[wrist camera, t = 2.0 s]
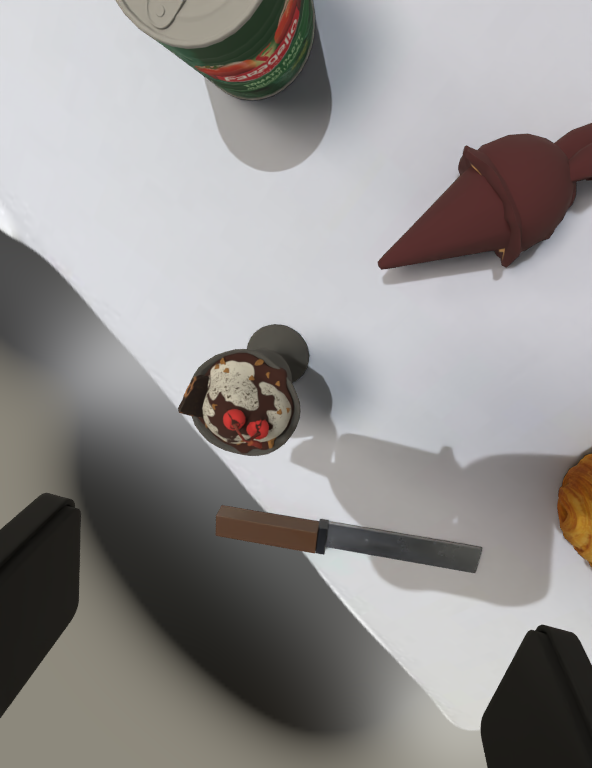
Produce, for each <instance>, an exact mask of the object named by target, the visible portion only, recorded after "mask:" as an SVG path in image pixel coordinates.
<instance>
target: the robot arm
mask: <svg viewBox="0 0 592 768" xmlns="http://www.w3.org/2000/svg"><path fill="white" fill-rule="evenodd" d="M80 522H81V513H80V510H79V509H77V508H75V503H74V501H73V500H71V499H68V498H64V497H60V496H57V495H53V494H49V493H44V494H42V495H40V496H39V497H38V498H37V499H35V500H34V501H33V502H32V503H31V504H30V505H28V506H27V507H26V508H25V509H24V510H23V511H21V512H20V513H19V514H18V515H17V516H16V517H14V518H13V519H12V520H11V521H10V522H9V523H7V524H6V525H5V526H4V527H3V528H2V529H1V530H0V718H1V716H2V715H3V714H4V712H5V711H6V710H7V708H8V707H9V706H10V704H11V703H12V701H13V700H14V699H15V697H16V696H17V695H18V693H19V692H20V690H21V689H22V688H23V686H24V685H25V684H26V682H27V681H28V679H29V678H30V677H31V675H32V674H33V673H34V671H35V670H36V668H37V667H38V666H39V664H40V663H41V661H42V660H43V659H44V657H45V656H46V655H47V653H48V652H49V651H50V649H51V648H52V646H53V645H54V644H55V642H56V641H57V640H58V638H59V637H60V635H61V634H62V632H63V631H64V630H65V629H66V627H67V626H68V624H69V623H70V621H71V620H72V618H73V617H74V615H75V613H76V610H77V607H78V602H79V567H80V524H81V523H80ZM481 738H482V743H483V748H484V753H485V757H486V762H487V767H488V768H592V665H591V663H590V661H589V659H588V657H587V655H586V653H585V651H584V648H583V646H582V644H581V642H580V640H579V639H578V637H577V636H576V635H575V634H574V633H572V632H568V631H565V630H561V629H557V628H553V627H550V626H546V625H540V626H538V627H537V629H536V630H535V631H534V630H530V631H528V632H527V634H526V635H525V637H524V639H523V641H522V643H521V645H520V647H519V649H518V650H517V652H516V654H515V656H514V658H513V660H512V662H511V664H510V665H509V667H508V669H507V671H506V673H505V675H504V677H503V679H502V680H501V682H500V684H499V686H498V688H497V690H496V692H495V694H494V695H493V697H492V699H491V701H490V703H489V705H488V707H487V709H486V710H485V712H484V714H483V717H482V720H481Z"/></svg>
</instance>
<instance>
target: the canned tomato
mask: <svg viewBox="0 0 592 768" xmlns="http://www.w3.org/2000/svg"><path fill="white" fill-rule="evenodd" d="M116 2H117V3H118V5H119V6H120V8H121V9H122V11H123V12H124V14H125V15H126V16H127V17H128V18H129V19H130V20H131V21H132V22H133V23H134V24H135V25H136V26H137V27H138V28H139V29H140V30H141V31H143V32H144V33H146V34H147V35H149V36H150V37H152V38H153V39H154V40H156V41H157V42H159V43H160V44H162V45H163V46H164V47H165V48H167V49H168V50H170V51H171V52H172V53H174V54H175V55H176V56H177V57H179V58H180V59H182V60H183V61H184V62H186V63H187V64H188V65H189V66H191V67H192V68H194V69H195V70H196V71H198V72H199V73H200V74H202V75H203V76H204V77H206V78H207V79H208V80H210V81H211V82H213V83H214V84H215V85H216V86H217V87H218V88H220V89H221V90H223V91H224V92H225V93H227V94H229V95H232V96H234V97H237V98H240V99H246V100H259V99H264V98H267V97H271V96H273V95H275V94H277V93H279V92H280V91H282V90H284V89H285V88H286V87H287V86H288V85H289V84H291V83H292V82H293V81H294V80H295V78H296V77H297V76H298V74H299V73H300V72H301V70H302V69H303V67H304V65H305V63H306V61H307V59H308V57H309V53H310V50H311V47H312V44H313V38H314V31H315V12H314V6H313V0H116Z"/></svg>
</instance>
